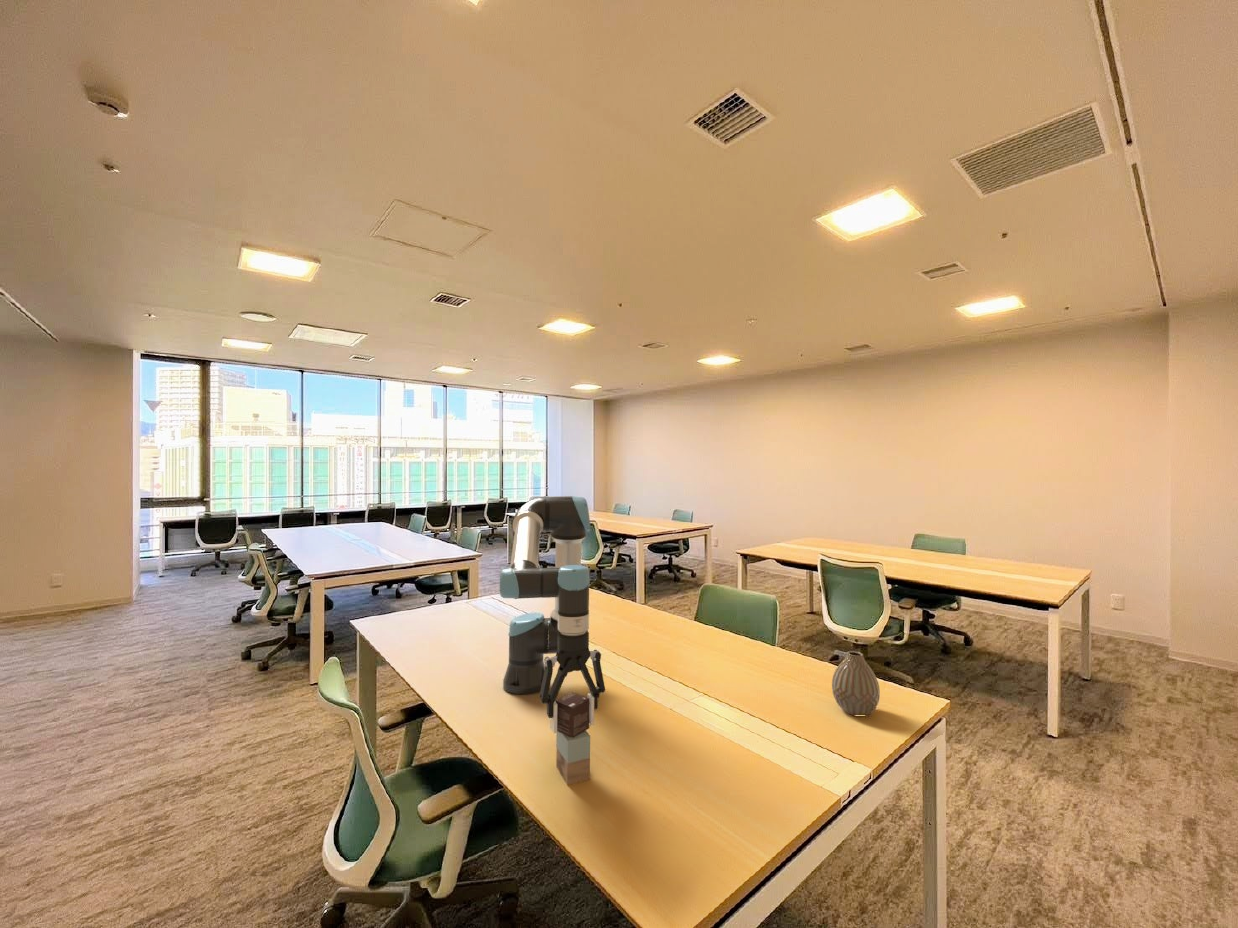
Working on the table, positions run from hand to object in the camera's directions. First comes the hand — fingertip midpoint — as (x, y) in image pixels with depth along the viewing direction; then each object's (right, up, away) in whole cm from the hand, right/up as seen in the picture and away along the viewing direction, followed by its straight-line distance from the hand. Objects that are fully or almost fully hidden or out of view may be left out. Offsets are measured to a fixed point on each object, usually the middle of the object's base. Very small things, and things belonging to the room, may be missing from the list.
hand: (572, 726), depth 118 cm
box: (0, -1, 0) cm, 1 cm away
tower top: (0, -6, 0) cm, 6 cm away
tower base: (0, -11, 0) cm, 11 cm away
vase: (+83, -13, +32) cm, 90 cm away
